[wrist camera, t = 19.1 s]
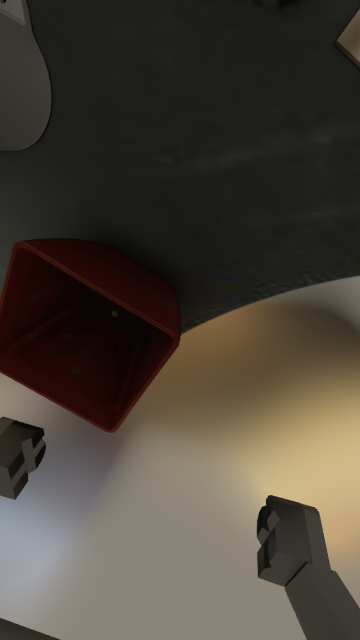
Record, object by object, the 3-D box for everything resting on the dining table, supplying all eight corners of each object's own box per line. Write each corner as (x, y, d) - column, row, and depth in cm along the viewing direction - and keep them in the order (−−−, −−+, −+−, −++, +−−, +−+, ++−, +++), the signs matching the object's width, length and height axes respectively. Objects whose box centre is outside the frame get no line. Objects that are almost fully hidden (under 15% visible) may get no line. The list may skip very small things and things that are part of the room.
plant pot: (93, 209, 42) (12, 236, 28) (204, 280, 44) (183, 340, 30) (56, 306, 52) (-17, 364, 38) (149, 361, 54) (112, 436, 39)
